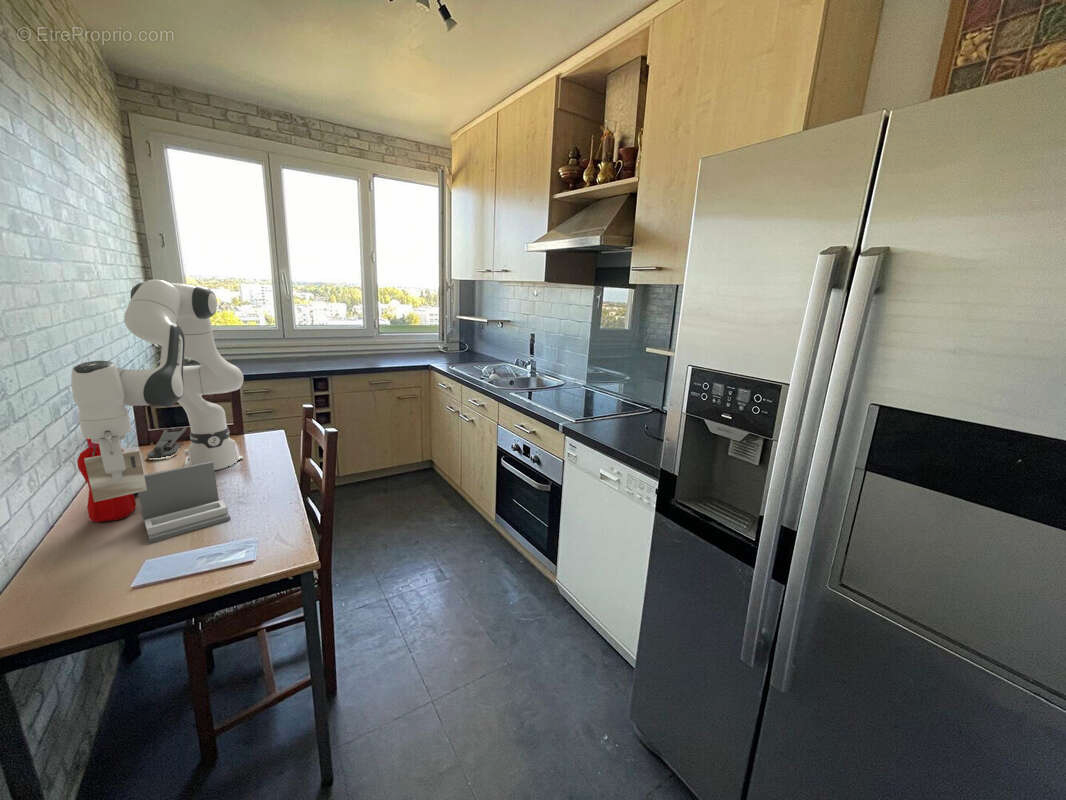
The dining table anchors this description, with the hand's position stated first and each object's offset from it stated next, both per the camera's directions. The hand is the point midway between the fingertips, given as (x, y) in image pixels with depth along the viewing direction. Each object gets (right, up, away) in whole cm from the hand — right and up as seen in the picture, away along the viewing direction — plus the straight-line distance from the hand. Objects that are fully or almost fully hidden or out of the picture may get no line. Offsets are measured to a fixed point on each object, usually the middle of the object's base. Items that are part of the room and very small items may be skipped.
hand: (117, 477), depth 111 cm
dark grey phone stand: (-46, -1, +71) cm, 85 cm away
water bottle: (-17, -15, +16) cm, 28 cm away
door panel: (0, -5, +1) cm, 5 cm away
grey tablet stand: (+6, -15, +15) cm, 22 cm away
